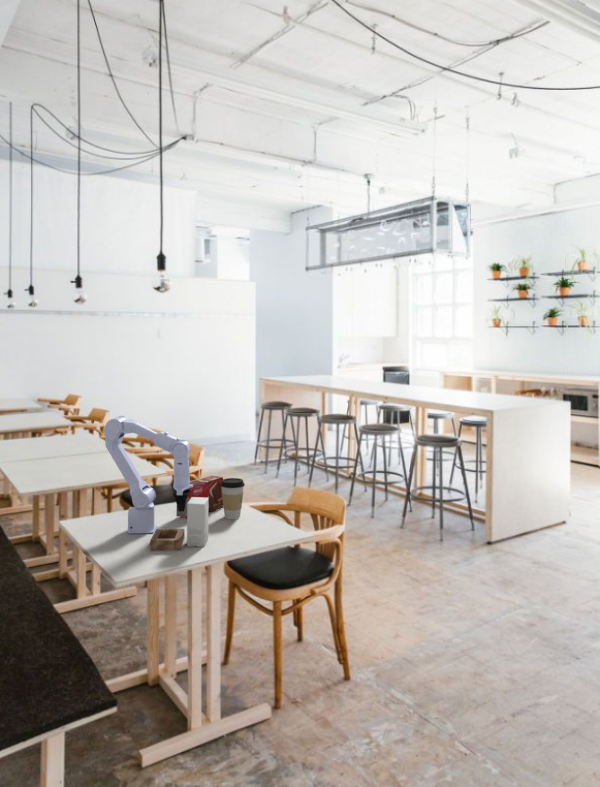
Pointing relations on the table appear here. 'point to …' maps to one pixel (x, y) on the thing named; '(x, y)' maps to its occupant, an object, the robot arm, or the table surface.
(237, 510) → the coffee cup
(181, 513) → the tall grey block
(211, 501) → the ice cream box
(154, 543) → the well block
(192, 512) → the skincare box
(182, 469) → the robot arm
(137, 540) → the table surface
